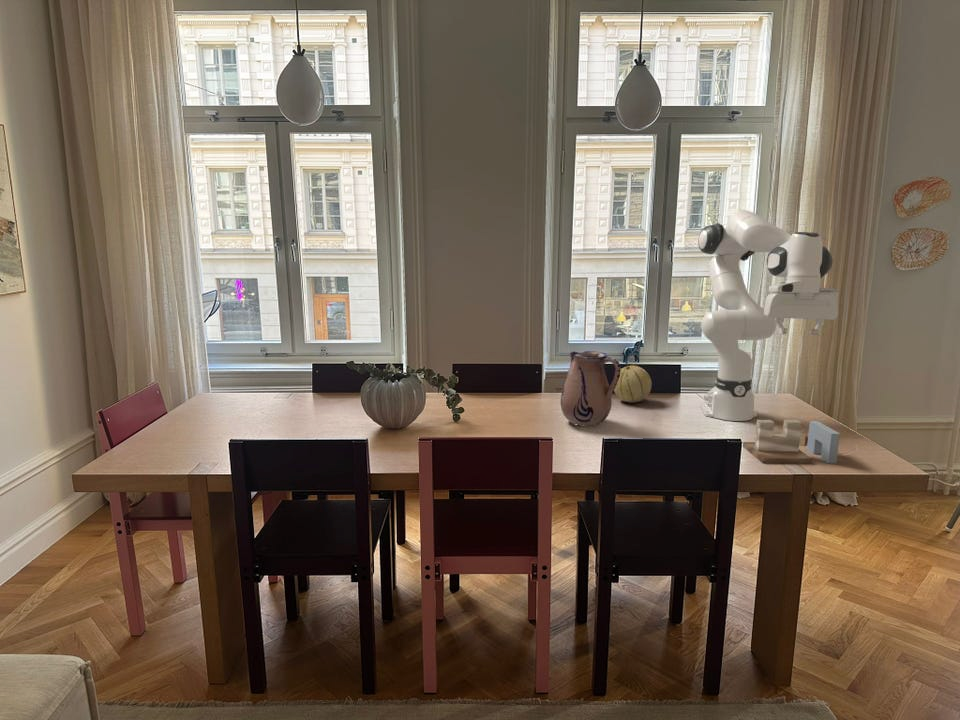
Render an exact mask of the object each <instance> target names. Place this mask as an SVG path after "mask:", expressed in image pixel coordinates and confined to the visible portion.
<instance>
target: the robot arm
mask: <svg viewBox="0 0 960 720" xmlns="http://www.w3.org/2000/svg"><path fill="white" fill-rule="evenodd" d="M697 241H698V242H697V243H698V244H697V245H698V248H699V250H700V252H702V253H703V254H707V255H715V256H713V257H712V258H711V260H709V264H708V273H709V281H710V286H711V290H712V294H713V297H714V301H715V302H716V304H717V305H718V306H719V307H721V308H722V309H718V310H713V311H708V312H706V314H704V316H703V318H702V320H701V322H700V323H701V324H700V327H701V332H702V334H703V335H704V337H706V339H707V340H709V341H710V342H711V344H713V345H714V347H715V349H716V353H717V358H718V363H717V364H718V366H717V376H716V379H715V381H714V387H712V388H711V389H710V390H709V391H708V392H707V394H705V395H704V396H703V398H704V402H700V403H699V407H700V409H701V411H702V413H703V415H704V416H705V417H710V418H715V419H719V420H723V421H724V420H725V421H731V422H733V421H734V422H746V421H751V420H753V418H756V417H758V413H757V412H756V411H755V394H754V393H753V392H752V391H751V390H752V386H753V380H752V369H753V368H752V367H753V359H752V356H751V355H750V354H749V353H748V352H746V351H744V350H743V349H740V347H739V341H761V340H766V339H769V338H771V337H773V335H774V334H775V332H776V329H777V326H778V328H779V331H778V333H779V334H780V335H787V334H788V332H787V331H788V328H787V327H785V326H784V324H783V323H785V319H797V320H798V319H803V320H815V323H816V326H815V328H811V335H812V336H818V335H820V331H821V330H820V329H822V327H823V326H824V324H825V320H830V321H831V320H834V321H835V320H836V319H837V318H838V316H839V304H838V303H839V302H838V301H839V292H838V291H837V290H836V289H834V287H833V288H832V287H827V288H826V287H821V278H823V277H824V276H826V275H827V274H828V273H829V272H830V271H831V269H832V267H833V261H834V260H833V259H834V258H833V255H832V253H831V252H830V251H829V249H828V248H827V247H825V245H824V246H823V240H822V236H821V235H820V234H819V233H816V232H811V231H809V232H806V231H797V232H793V233H789V232H787V231H786V230H784V229H782V228H780V227H778V226H777V225H774V224H772V223H771V222H769V221H768V220H766V219H765V218H763V217H762V216H760V215H759V214H757V213H755V212H753V211H750V210H745V209H742V210H738V211H735V212H734V213H733V214H731V215H730V217H729V218H728V221H727V223H726V224H720V223H719V222H717V223H715V224H710V225H707V226H705V227H703V228H702V229H701V230H700V232H699V235H698V240H697ZM755 253H768V255H767V258H766V268H767V270H768V272H769V273H770V274H771V275H772V276H774V277H777V278H779V277H780V278H786V281H784V282H783V281H782V282H780V283H775V284H772V285H769V287H768V292H769V294H768V295H767V296H766V298H765V303H764V307H762V306H761V305H759V304H758V303H757V302H756V301H755V300H754V299H753V297H752V296H751V295H750V294H749V291H748V290H747V288H746V283H745V281H744V278H743V274H742V271H741V269H740V268H741V267H740V261H743V262H744V261H747V260H748V259H749V257H752V256H753V255H754V254H755Z"/></svg>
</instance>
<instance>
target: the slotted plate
mask: <svg viewBox="0 0 960 720" xmlns="http://www.w3.org/2000/svg"><path fill="white" fill-rule="evenodd" d="M840 435H841V433H839V432H838V431H836V430H835V429H832V428H831V427H829V426H827V425H825V424H824V423H822V422H820V421H818V420H817V421H816V420H810V421H809V427H808V435H807V443H806V450H807V451H809V452H810V453H812V454H814V455H815V454H816V455H820V459H821V460H822V461H824V462H825V463H827V464H837V461H838V453H839V447H840Z"/></svg>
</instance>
